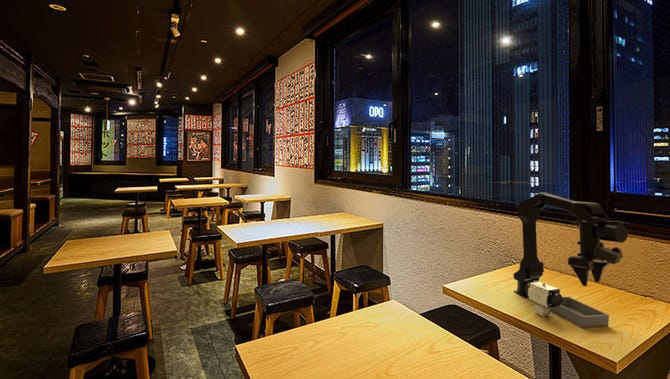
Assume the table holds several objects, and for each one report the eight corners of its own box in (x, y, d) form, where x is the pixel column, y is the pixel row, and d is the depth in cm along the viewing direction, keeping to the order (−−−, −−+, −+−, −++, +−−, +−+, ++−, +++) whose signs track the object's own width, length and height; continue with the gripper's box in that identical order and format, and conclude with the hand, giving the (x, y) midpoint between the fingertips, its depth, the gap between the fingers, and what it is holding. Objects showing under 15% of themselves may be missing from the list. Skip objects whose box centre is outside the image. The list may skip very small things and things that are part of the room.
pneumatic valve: (533, 307, 132) (534, 276, 131) (561, 320, 121) (564, 287, 120) (521, 308, 130) (523, 278, 129) (550, 322, 119) (552, 289, 118)
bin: (545, 308, 131) (545, 298, 131) (567, 306, 133) (568, 296, 132) (582, 328, 115) (583, 317, 115) (608, 326, 117) (609, 315, 117)
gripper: (605, 243, 107) (606, 294, 106) (630, 239, 116) (631, 285, 116) (566, 240, 116) (567, 286, 116) (592, 236, 126) (593, 278, 125)
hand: (591, 284), depth 118 cm, fingers open, 9 cm apart
